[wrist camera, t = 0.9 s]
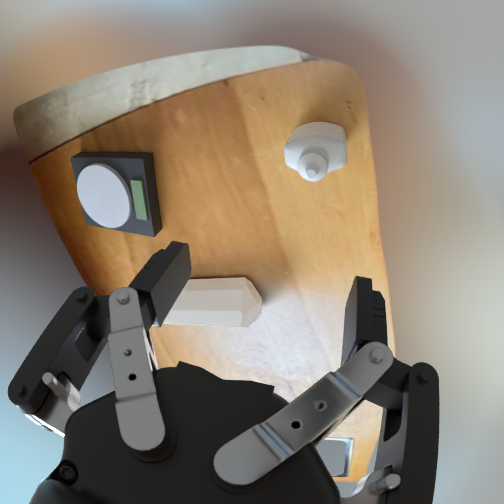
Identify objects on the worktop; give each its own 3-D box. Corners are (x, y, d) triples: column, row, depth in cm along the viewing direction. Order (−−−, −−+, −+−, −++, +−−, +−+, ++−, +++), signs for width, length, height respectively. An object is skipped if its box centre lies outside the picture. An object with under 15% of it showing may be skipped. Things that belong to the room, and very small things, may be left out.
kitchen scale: (80, 151, 40) (66, 159, 37) (152, 152, 37) (139, 161, 35) (94, 217, 47) (83, 227, 44) (162, 228, 44) (151, 240, 42)
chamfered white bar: (250, 281, 40) (120, 284, 49) (255, 332, 41) (127, 324, 49) (267, 272, 47) (147, 277, 56) (271, 317, 48) (152, 314, 56)
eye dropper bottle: (304, 107, 29) (287, 131, 20) (351, 130, 29) (358, 166, 20) (288, 141, 32) (265, 181, 23) (334, 163, 32) (331, 213, 23)
